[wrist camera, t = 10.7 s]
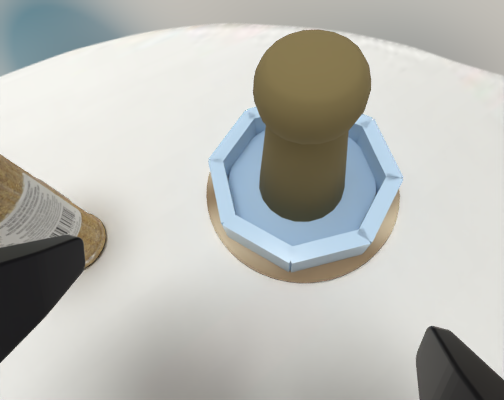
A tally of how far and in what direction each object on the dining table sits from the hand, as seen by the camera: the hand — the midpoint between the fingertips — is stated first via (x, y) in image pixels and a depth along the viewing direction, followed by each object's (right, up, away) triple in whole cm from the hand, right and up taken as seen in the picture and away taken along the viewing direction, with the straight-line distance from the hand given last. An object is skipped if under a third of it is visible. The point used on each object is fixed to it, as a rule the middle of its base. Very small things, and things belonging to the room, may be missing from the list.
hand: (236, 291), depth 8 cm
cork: (+4, +4, +15) cm, 16 cm away
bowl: (+4, +3, +16) cm, 17 cm away
